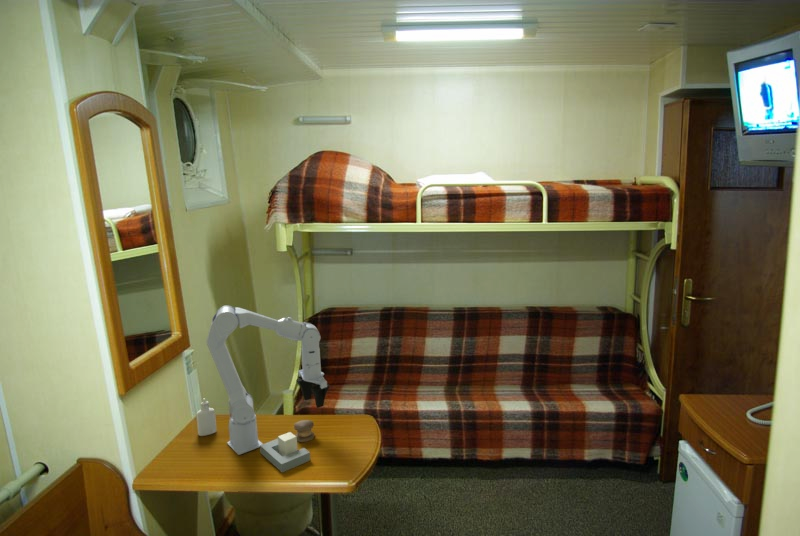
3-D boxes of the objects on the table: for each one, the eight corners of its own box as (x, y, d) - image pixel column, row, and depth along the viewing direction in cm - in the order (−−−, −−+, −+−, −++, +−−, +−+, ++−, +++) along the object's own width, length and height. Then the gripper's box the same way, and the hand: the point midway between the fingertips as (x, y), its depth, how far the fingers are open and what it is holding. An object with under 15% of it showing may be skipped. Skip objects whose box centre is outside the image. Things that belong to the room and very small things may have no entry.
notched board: (260, 452, 146) (259, 445, 146) (287, 442, 152) (287, 434, 152) (282, 472, 136) (281, 464, 135) (310, 460, 141) (309, 452, 141)
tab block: (279, 455, 145) (277, 436, 144) (291, 450, 147) (289, 431, 146) (285, 460, 142) (284, 441, 141) (297, 455, 144) (296, 436, 144)
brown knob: (291, 437, 155) (290, 424, 154) (308, 430, 159) (307, 418, 158) (301, 444, 151) (300, 430, 150) (317, 437, 154) (317, 424, 154)
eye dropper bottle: (201, 429, 162) (198, 395, 160) (218, 429, 162) (215, 395, 160) (196, 436, 158) (192, 401, 156) (213, 436, 157) (210, 401, 156)
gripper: (334, 365, 151) (336, 406, 153) (310, 353, 161) (313, 392, 164) (314, 370, 146) (317, 413, 148) (291, 359, 157) (294, 398, 159)
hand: (313, 402), depth 156 cm, fingers open, 7 cm apart
